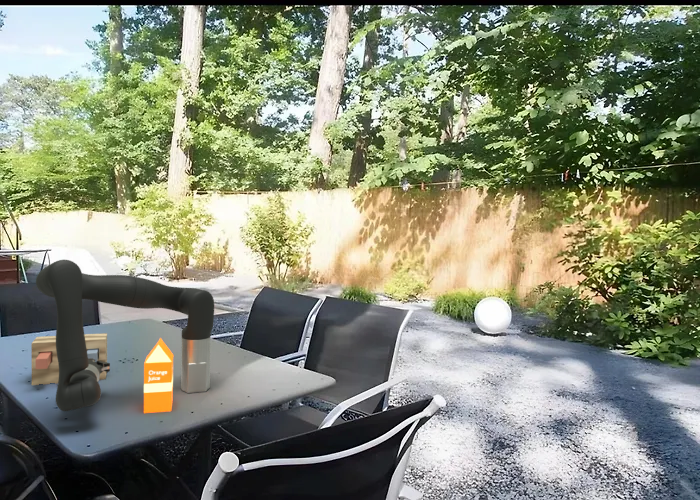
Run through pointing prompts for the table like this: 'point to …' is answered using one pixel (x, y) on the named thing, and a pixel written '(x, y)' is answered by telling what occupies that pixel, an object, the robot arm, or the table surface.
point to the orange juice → (158, 379)
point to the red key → (43, 360)
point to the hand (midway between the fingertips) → (90, 361)
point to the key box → (53, 369)
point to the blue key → (93, 354)
